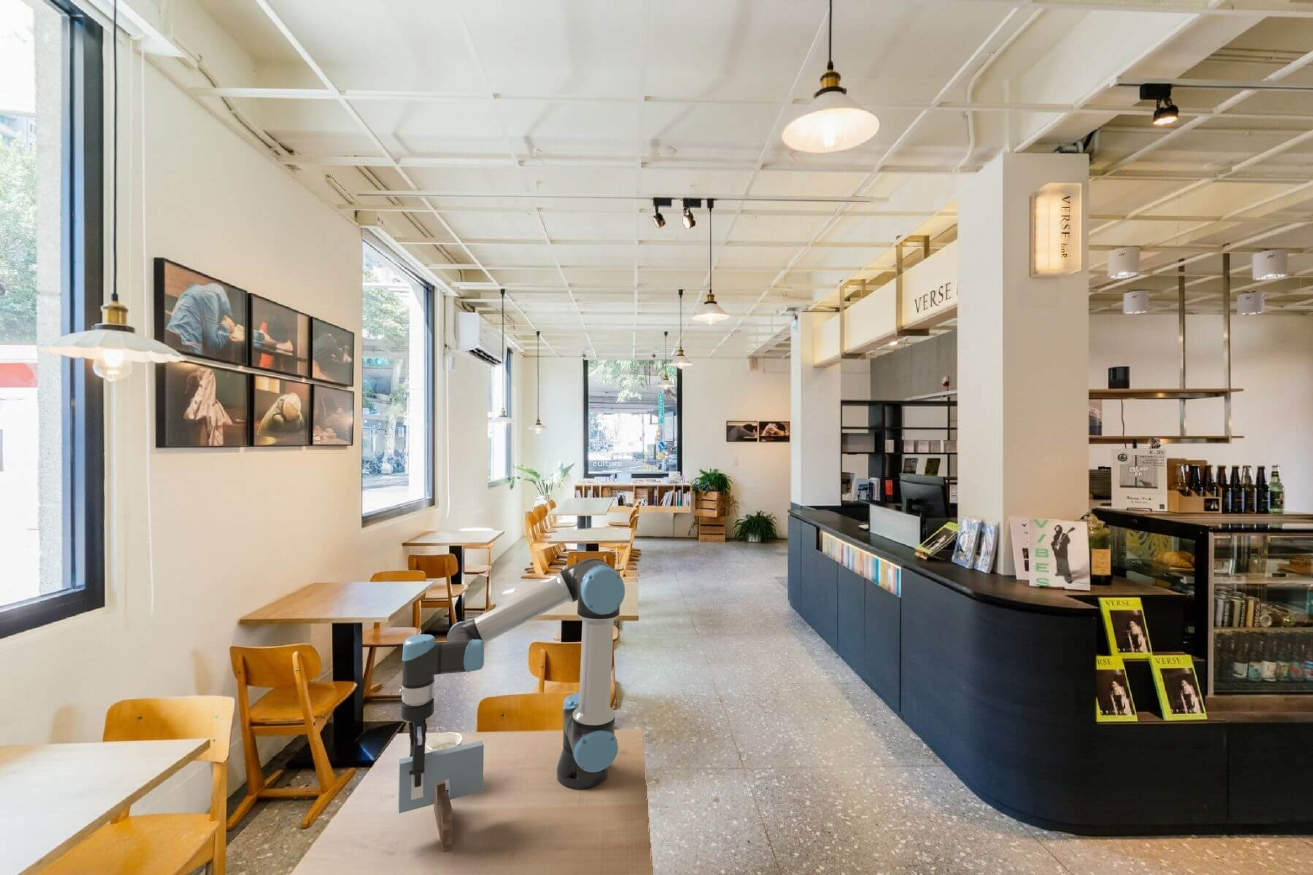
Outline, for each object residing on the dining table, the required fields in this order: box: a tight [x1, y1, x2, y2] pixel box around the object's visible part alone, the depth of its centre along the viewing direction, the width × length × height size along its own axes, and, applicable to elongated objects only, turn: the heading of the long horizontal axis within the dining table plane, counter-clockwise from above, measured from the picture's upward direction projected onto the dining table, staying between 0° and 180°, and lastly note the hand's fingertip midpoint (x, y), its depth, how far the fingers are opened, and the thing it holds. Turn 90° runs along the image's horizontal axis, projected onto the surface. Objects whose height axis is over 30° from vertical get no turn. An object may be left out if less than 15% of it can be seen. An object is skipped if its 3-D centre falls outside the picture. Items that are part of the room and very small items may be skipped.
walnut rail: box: [433, 780, 453, 852], centre depth 145 cm, size 2×18×10 cm, turn 27°
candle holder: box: [425, 731, 464, 791], centre depth 164 cm, size 10×10×12 cm
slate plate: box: [397, 740, 485, 814], centre depth 145 cm, size 20×2×12 cm, turn 118°
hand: (416, 793), depth 142 cm, fingers closed on slate plate, 2 cm apart
